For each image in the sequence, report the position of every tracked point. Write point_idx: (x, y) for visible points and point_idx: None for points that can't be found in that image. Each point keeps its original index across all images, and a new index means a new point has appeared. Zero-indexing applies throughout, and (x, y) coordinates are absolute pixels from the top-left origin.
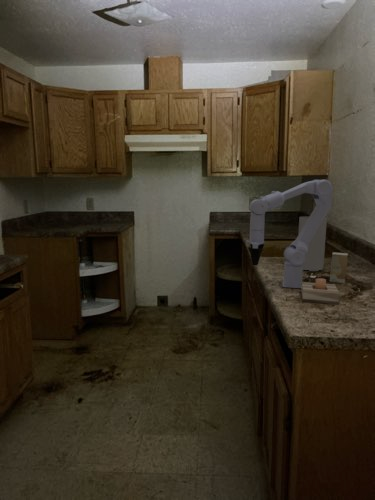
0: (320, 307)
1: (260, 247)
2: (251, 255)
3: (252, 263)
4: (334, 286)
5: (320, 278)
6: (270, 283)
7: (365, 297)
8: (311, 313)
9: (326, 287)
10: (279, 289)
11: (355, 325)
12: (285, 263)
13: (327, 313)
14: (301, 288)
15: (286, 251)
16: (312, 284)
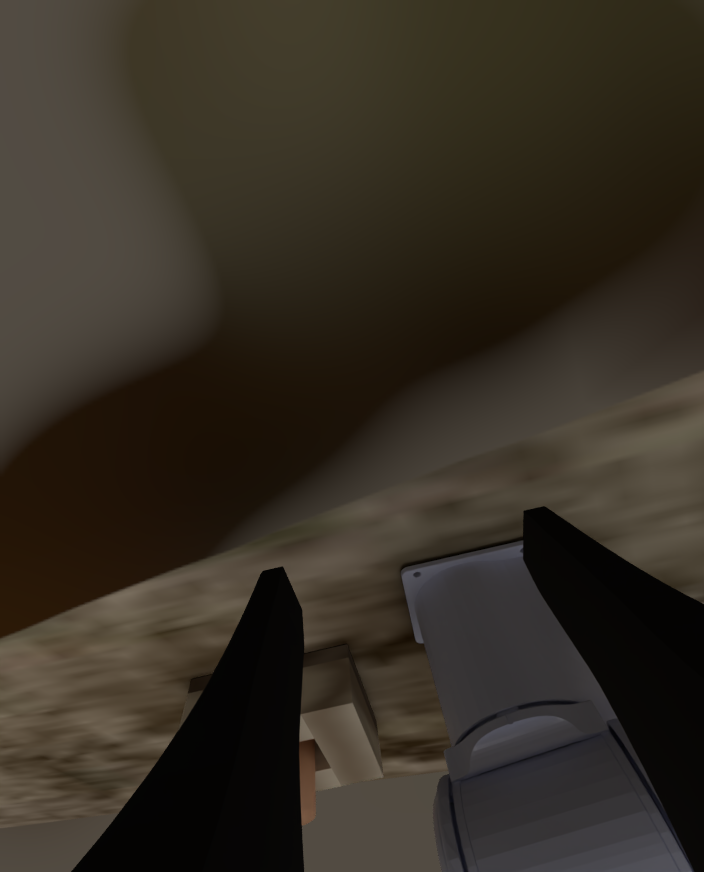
0: (162, 727)
1: (686, 821)
2: (185, 732)
3: (256, 590)
4: (345, 782)
5: (312, 812)
6: (471, 489)
7: (388, 771)
8: (56, 726)
9: (315, 769)
10: (348, 563)
11: (54, 803)
12: (499, 727)
13: (106, 750)
14: (340, 669)
15: (629, 860)
16: (331, 736)
